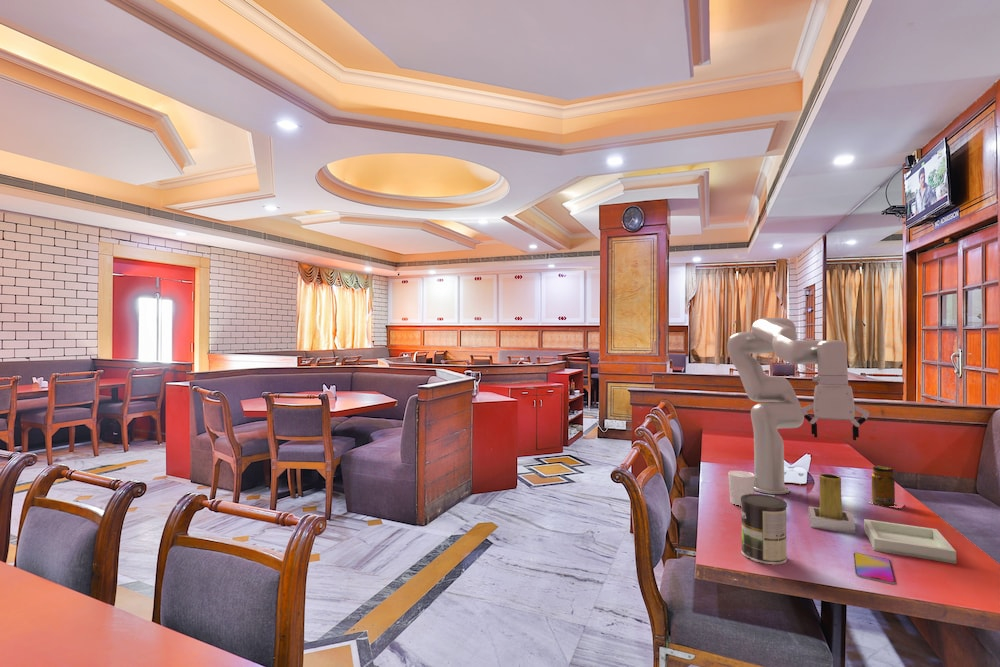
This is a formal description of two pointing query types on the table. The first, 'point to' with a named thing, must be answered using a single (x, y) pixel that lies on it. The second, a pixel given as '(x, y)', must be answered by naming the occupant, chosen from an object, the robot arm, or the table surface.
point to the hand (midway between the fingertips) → (834, 438)
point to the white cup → (740, 485)
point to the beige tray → (909, 541)
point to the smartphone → (873, 568)
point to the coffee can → (764, 528)
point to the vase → (830, 497)
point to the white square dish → (832, 521)
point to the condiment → (883, 486)
